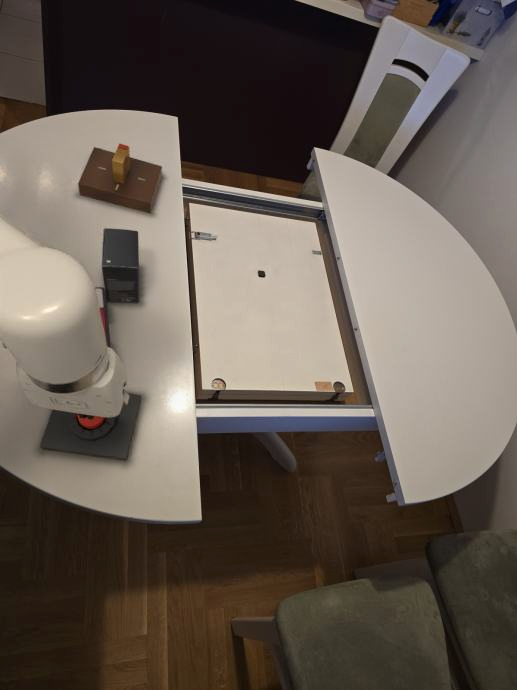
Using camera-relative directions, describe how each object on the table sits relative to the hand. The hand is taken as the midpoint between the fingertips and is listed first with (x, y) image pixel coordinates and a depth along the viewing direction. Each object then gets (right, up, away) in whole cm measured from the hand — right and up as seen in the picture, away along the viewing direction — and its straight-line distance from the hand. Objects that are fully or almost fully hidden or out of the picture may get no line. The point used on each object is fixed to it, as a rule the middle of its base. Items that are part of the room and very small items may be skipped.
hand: (90, 408), depth 53 cm
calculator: (-8, +10, +13) cm, 18 cm away
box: (-2, +20, +19) cm, 28 cm away
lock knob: (-5, +44, +26) cm, 51 cm away
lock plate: (-6, +42, +29) cm, 51 cm away
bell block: (-2, -4, +7) cm, 9 cm away
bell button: (-2, -2, +4) cm, 5 cm away
